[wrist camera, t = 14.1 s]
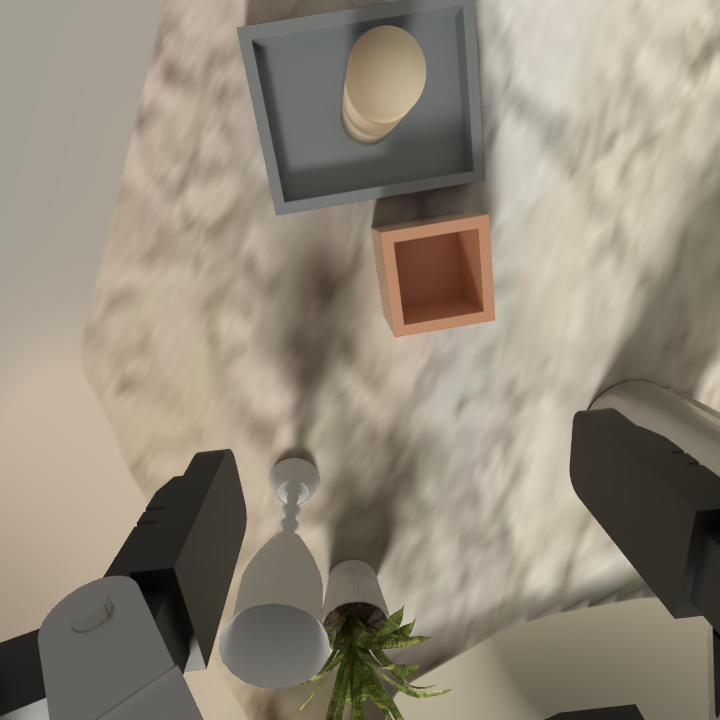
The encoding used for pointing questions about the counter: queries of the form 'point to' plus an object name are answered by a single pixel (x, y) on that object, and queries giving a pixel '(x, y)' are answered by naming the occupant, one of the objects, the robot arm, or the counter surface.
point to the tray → (324, 100)
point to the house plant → (363, 642)
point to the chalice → (280, 597)
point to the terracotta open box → (435, 272)
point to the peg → (381, 83)
